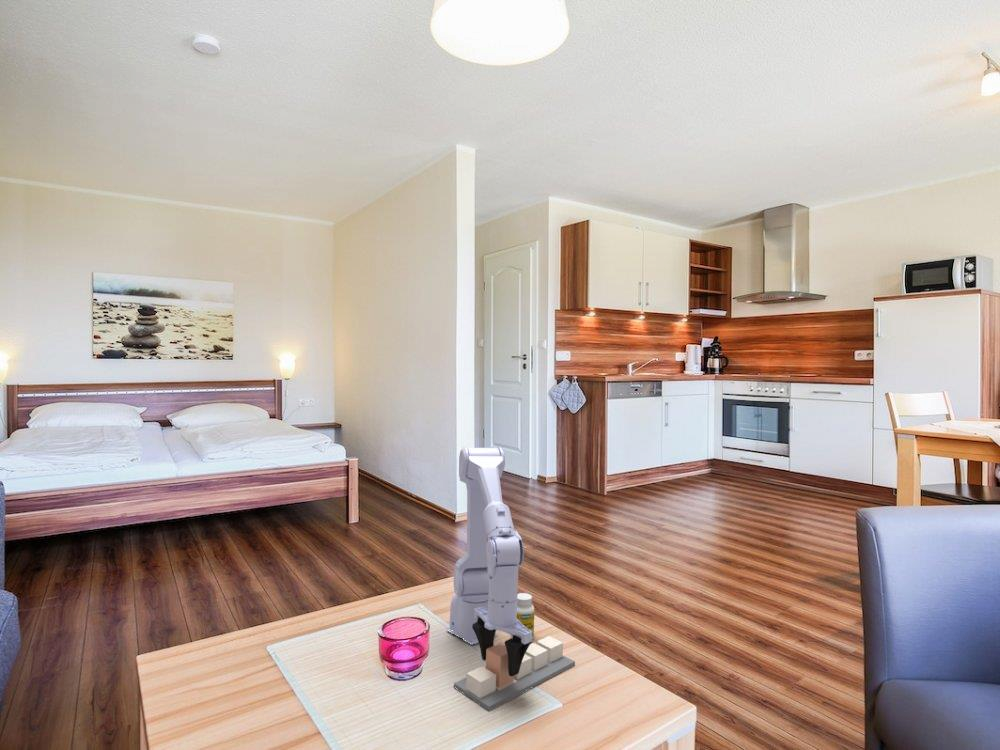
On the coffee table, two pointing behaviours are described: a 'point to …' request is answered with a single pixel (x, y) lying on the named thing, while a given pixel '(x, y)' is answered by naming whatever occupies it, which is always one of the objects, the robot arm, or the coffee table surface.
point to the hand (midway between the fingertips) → (500, 666)
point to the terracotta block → (498, 664)
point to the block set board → (519, 684)
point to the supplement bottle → (525, 611)
